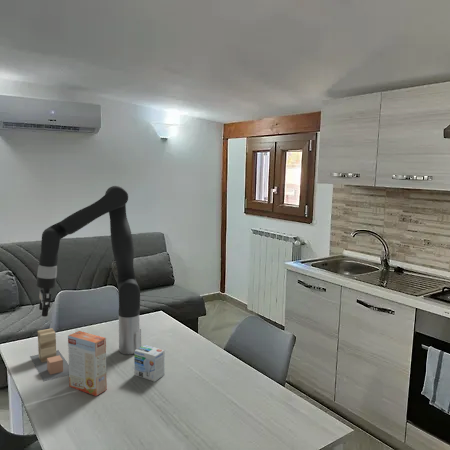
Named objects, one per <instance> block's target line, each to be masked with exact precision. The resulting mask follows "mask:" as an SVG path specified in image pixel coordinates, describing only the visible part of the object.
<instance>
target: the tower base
mask: <svg viewBox="0 0 450 450" xmlns="http://www.w3.org/2000/svg"><path fill="white" fill-rule="evenodd" d="M37 347H38V349H37V351H38V354H39V359H40V360H41V362H46V361H47V358H50V357H54V356H56V351H57V345H56V346H54V347H49V348H44V349H41V348H40V346H39V345H38V344H37Z"/></svg>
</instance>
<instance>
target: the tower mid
mask: <svg viewBox="0 0 450 450" xmlns="http://www.w3.org/2000/svg"><path fill="white" fill-rule="evenodd" d="M56 337H57V336H56V331H55V330H54V328H52V327H51V328H47V329H40V330H37V346H38V345H39V346H40V348H41V349H44V348H49V347H54V346H56V347H57V339H56Z"/></svg>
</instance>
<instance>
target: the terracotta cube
mask: <svg viewBox="0 0 450 450" xmlns="http://www.w3.org/2000/svg"><path fill="white" fill-rule="evenodd" d="M47 370H48V372H49V373H50V375H51V374H55V373H59V372H63V359H62V358H61V357H60V355H59V356H54V357H50V358H47Z"/></svg>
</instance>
